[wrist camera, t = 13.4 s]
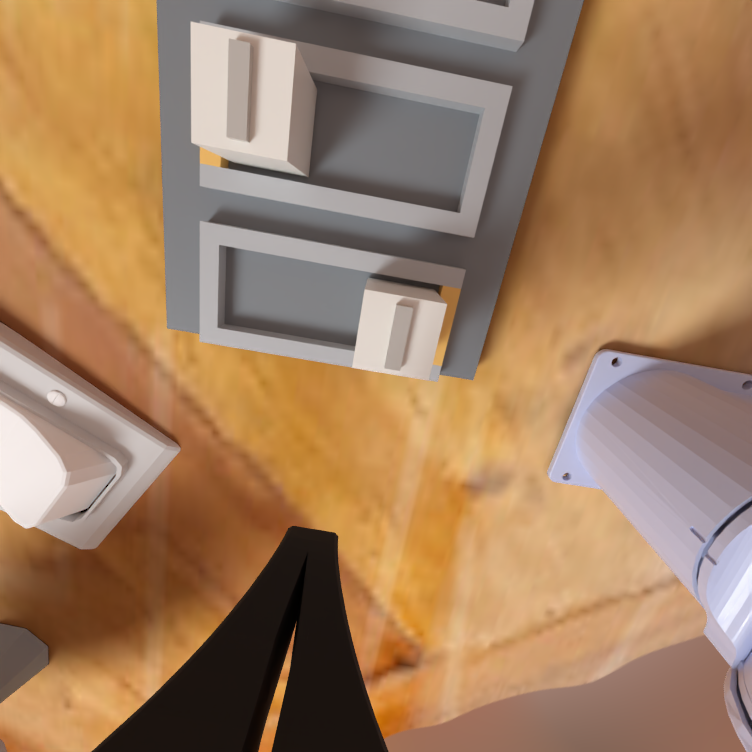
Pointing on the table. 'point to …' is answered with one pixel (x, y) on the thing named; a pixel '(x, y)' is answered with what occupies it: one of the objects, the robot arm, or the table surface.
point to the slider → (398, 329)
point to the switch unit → (362, 170)
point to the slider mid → (251, 99)
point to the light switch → (69, 448)
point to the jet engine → (18, 660)
